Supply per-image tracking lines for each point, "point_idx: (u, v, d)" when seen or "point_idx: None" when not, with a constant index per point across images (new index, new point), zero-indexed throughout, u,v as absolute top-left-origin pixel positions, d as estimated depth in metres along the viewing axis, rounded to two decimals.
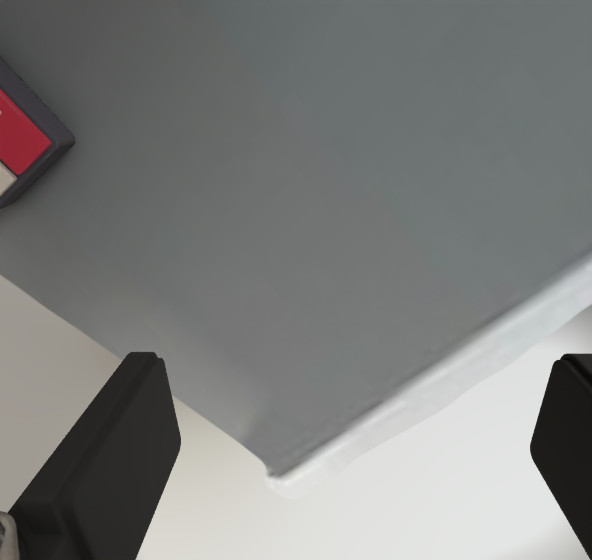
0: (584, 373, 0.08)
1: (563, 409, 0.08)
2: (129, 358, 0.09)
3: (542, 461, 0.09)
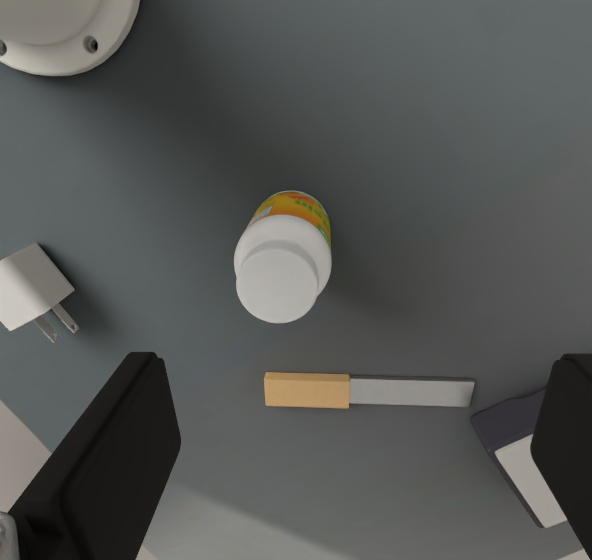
0: (584, 372, 0.08)
1: (563, 409, 0.08)
2: (129, 358, 0.09)
3: (543, 461, 0.09)
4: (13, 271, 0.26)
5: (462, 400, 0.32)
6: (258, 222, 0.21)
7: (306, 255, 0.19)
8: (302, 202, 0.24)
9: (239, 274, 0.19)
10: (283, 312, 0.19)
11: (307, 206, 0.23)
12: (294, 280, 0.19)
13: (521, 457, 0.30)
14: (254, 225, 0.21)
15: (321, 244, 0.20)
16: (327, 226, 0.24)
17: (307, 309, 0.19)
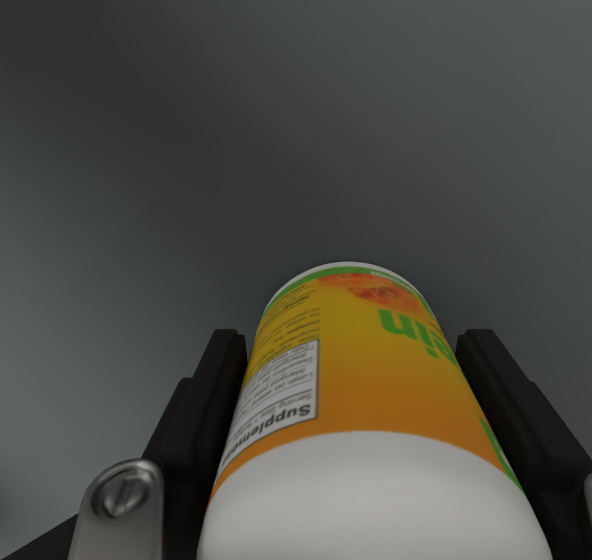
0: (479, 345, 0.09)
1: None
2: (217, 334, 0.10)
3: None
4: None
5: None
6: (283, 470, 0.05)
7: None
8: (398, 317, 0.08)
9: None
10: None
11: (417, 333, 0.08)
12: None
13: None
14: (267, 484, 0.05)
15: None
16: None
17: None
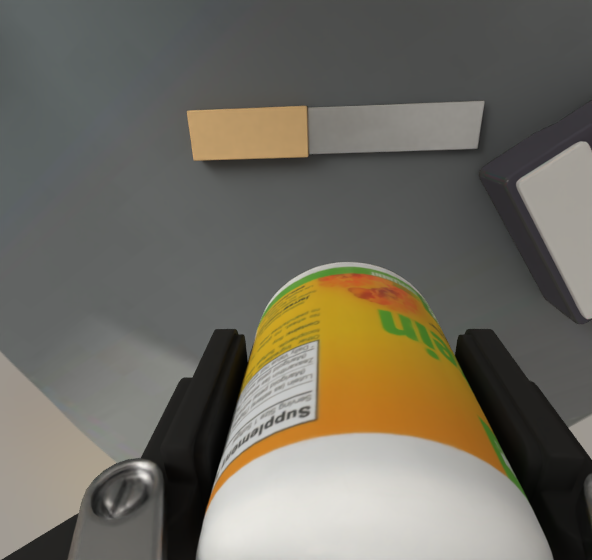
0: (479, 345, 0.09)
1: None
2: (217, 334, 0.10)
3: None
4: None
5: (467, 137, 0.23)
6: (282, 472, 0.05)
7: None
8: (399, 318, 0.08)
9: None
10: None
11: (417, 334, 0.08)
12: None
13: (555, 186, 0.20)
14: (266, 486, 0.05)
15: None
16: None
17: None
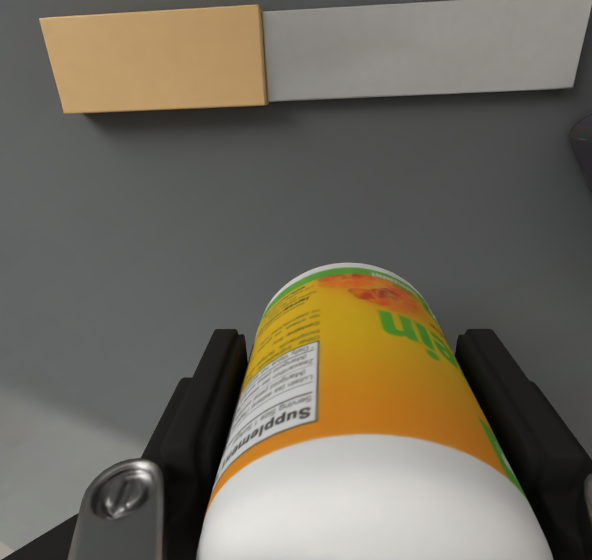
0: (479, 345, 0.09)
1: None
2: (217, 334, 0.10)
3: None
4: None
5: (556, 65, 0.12)
6: (282, 474, 0.05)
7: None
8: (399, 318, 0.08)
9: None
10: None
11: (417, 334, 0.08)
12: None
13: None
14: (267, 488, 0.05)
15: None
16: None
17: None
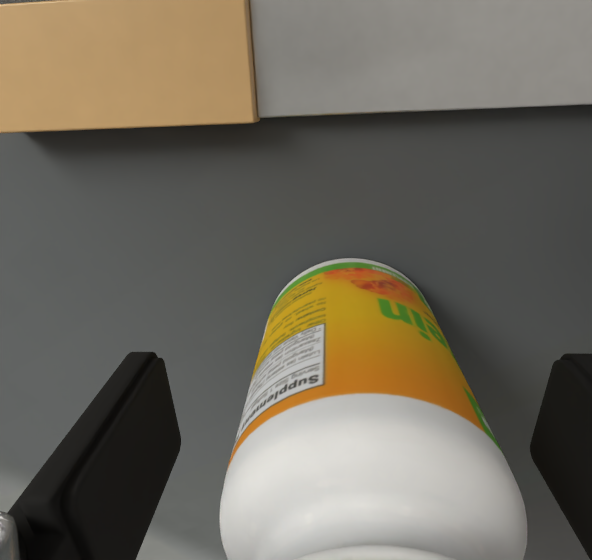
0: (585, 373, 0.08)
1: (563, 409, 0.08)
2: (129, 358, 0.09)
3: (542, 461, 0.09)
4: None
5: None
6: (296, 425, 0.06)
7: None
8: (396, 305, 0.09)
9: None
10: None
11: (412, 319, 0.09)
12: None
13: None
14: (283, 436, 0.06)
15: (514, 502, 0.06)
16: None
17: None
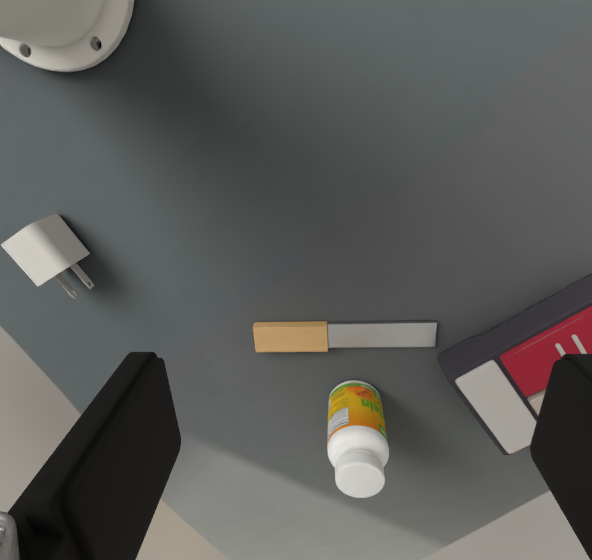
0: (585, 373, 0.08)
1: (563, 409, 0.08)
2: (129, 358, 0.09)
3: (542, 460, 0.09)
4: (39, 234, 0.32)
5: (428, 341, 0.37)
6: (344, 431, 0.34)
7: (377, 461, 0.32)
8: (365, 400, 0.37)
9: (338, 474, 0.32)
10: (363, 492, 0.32)
11: (369, 405, 0.36)
12: (371, 477, 0.32)
13: (478, 384, 0.34)
14: (341, 433, 0.34)
15: (383, 445, 0.33)
16: (382, 413, 0.37)
17: (378, 491, 0.32)
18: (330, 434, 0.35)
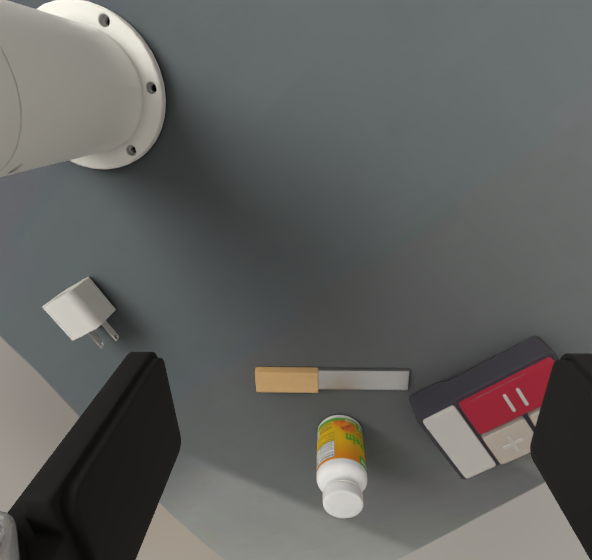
0: (585, 373, 0.08)
1: (563, 409, 0.08)
2: (129, 358, 0.09)
3: (542, 461, 0.09)
4: (76, 299, 0.38)
5: (402, 385, 0.44)
6: (330, 463, 0.41)
7: (357, 489, 0.39)
8: (349, 434, 0.44)
9: (325, 499, 0.39)
10: (345, 514, 0.40)
11: (352, 438, 0.44)
12: (352, 502, 0.39)
13: (441, 424, 0.41)
14: (328, 465, 0.41)
15: (363, 474, 0.41)
16: (362, 445, 0.44)
17: (357, 513, 0.39)
18: (319, 464, 0.42)
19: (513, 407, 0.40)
